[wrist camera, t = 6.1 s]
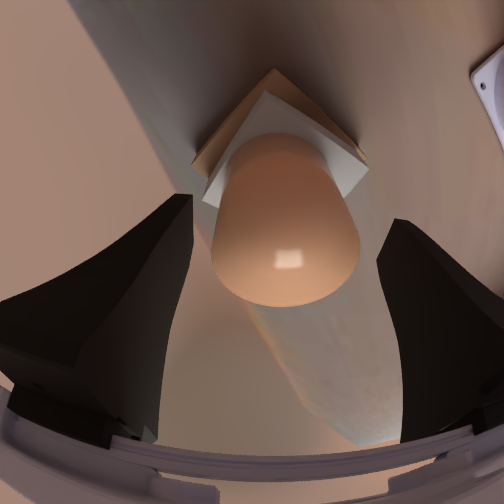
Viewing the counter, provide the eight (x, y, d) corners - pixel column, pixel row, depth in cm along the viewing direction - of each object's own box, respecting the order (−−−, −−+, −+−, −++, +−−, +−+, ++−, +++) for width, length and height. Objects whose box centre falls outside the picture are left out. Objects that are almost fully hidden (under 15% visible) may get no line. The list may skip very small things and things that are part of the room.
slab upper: (356, 150, 14) (369, 168, 12) (294, 223, 17) (298, 248, 15) (264, 89, 12) (265, 98, 10) (208, 178, 15) (202, 200, 14)
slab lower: (356, 144, 16) (367, 158, 14) (280, 211, 19) (282, 232, 17) (273, 66, 13) (275, 70, 11) (198, 150, 16) (190, 165, 15)
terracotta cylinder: (349, 177, 13) (387, 251, 9) (281, 239, 15) (289, 321, 11) (271, 111, 11) (281, 160, 7) (204, 189, 13) (183, 267, 9)
